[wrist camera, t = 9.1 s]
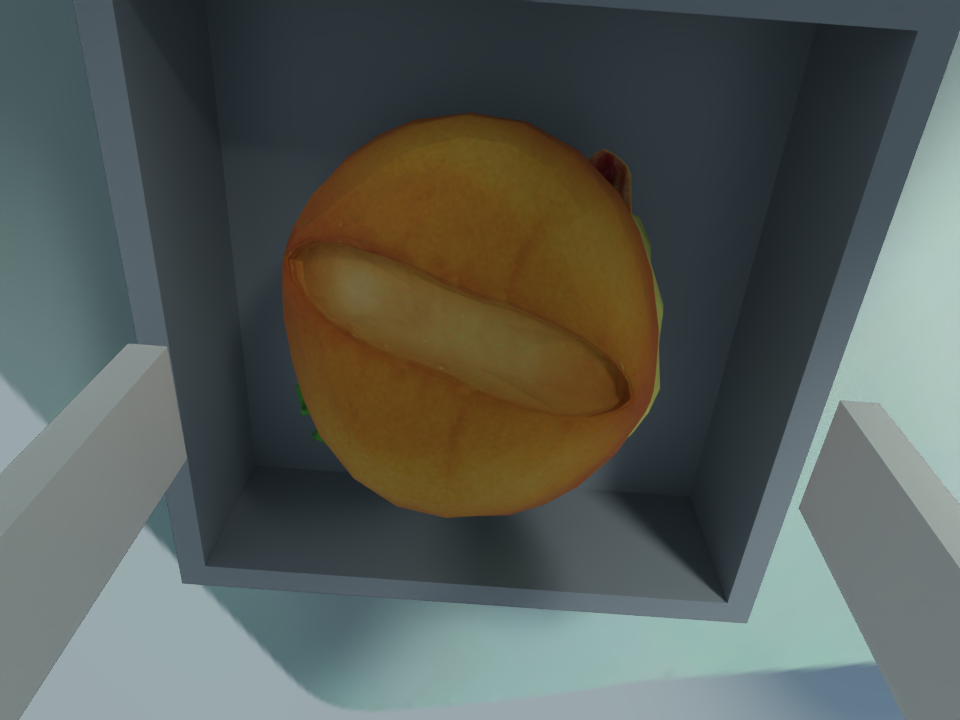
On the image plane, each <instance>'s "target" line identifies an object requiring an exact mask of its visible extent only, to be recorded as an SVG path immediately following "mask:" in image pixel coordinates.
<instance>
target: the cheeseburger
mask: <svg viewBox="0 0 960 720" xmlns="http://www.w3.org/2000/svg"><path fill="white" fill-rule="evenodd" d="M282 297H283V312H284V321H285V327H286V332H287V337H288V342H289V347H290V353H291V358H292V363H293V366H294V370H295V373H296V376H297V379H298V383H297V385H296V391H297V394H298V398H299V402H300V405H301V409H302V412H301V415H311V417H312V419H313V422H314V424H315V426H316V429H315V431H314V432H313V434H312V437H313V439H314V440H318V441H321V442H322V443H324V444H326V445H327V446H328V447H329V448H330V449H331V451H332V452H333V453H334V454H335V456H336V457H337V458H338V459H339V461H340V462H341V463H342V465H343V466H344V467H345V468H346V470H347V471H348V472H349V473H350V475H351V476H352V477H353V478H354V479H355V480H357V481H358V482H360V483H361V484H363V485H364V486H366V487H367V488H369V489H371V490H372V491H374V492H375V493H377V494H378V495H380V496H381V497H383V498H384V499H386V500H388V501H389V502H391V503H392V504H394V505H395V506H397V507H402V508H406V509H410V510H414V511H419V512H423V513H427V514H431V515H436V516H440V517H444V518H453V517H469V516H499V515H512V514H515V513H518V512H522V511H525V510H528V509H532V508H535V507H538V506H541V505H545V504H547V503H548V502H550V501H552V500H554V499H556V498H558V497H560V496H562V495H564V494H566V493H567V492H569V491H571V490H573V489H575V488H577V487H578V486H579V485H581V484H582V483H583V482H584V481H585V480H586V479H588V478H589V477H590V476H591V475H592V474H593V473H594V472H596V471H597V470H598V469H599V468H600V467H601V466H603V465H604V464H605V463H606V462H607V461H608V460H609V459H611V458H612V457H613V456H614V455H615V454H616V452H617V451H618V450H619V448H620V447H621V446H622V444H623V443H624V442H625V440H626V439H627V438H628V437H629V436H630V435H631V434H632V433H633V432H634V430H635V429H636V428H637V427H638V425H639V424H640V423H641V422H642V420H643V419H644V418H645V417H646V415H647V414H648V412H649V410H650V408H651V406H652V404H653V402H654V400H655V398H656V396H657V394H658V392H659V390H660V371H659V338H660V331H661V324H662V317H663V303H662V299H661V296H660V292H659V289H658V285H657V281H656V278H655V274H654V271H653V268H652V265H651V242H650V240H649V238H648V235H647V233H646V231H645V229H644V226H643V224H642V222H641V220H640V217H638V216H636V215H635V214H633V213H632V203H631V173H630V171H629V168H628V165H627V164H626V163H625V162H624V161H623V160H622V159H621V158H619V157H618V156H617V155H615V154H614V153H612V152H610V151H608V150H606V149H602V150H600V151H597V152H595V153H594V154H593V155H592V156H591V157H590V158H589V159H588V160H587V159H586V157H585V156H584V155H583V154H582V153H581V152H580V151H579V150H577V149H575V148H573V147H572V146H570V145H568V144H566V143H565V142H563V141H561V140H559V139H558V138H556V137H554V136H552V135H551V134H549V133H547V132H545V131H544V130H542V129H540V128H538V127H536V126H535V125H533V124H531V123H529V122H526V121H520V120H514V119H508V118H502V117H497V116H491V115H485V114H479V113H473V112H469V113H461V114H453V115H445V116H437V117H430V118H422V119H414V120H412V121H409V122H407V123H405V124H402V125H400V126H398V127H395V128H393V129H391V130H388V131H386V132H384V133H381V134H379V135H378V136H376V137H375V138H373V139H372V140H370V141H369V142H367V143H366V144H364V145H363V146H361V147H360V148H358V149H357V150H355V151H354V152H352V153H351V154H350V155H348V156H347V157H346V158H345V160H344V161H343V162H342V163H341V164H340V165H339V166H338V167H337V169H336V170H335V171H334V172H333V173H332V174H331V175H330V176H329V178H328V179H327V180H326V181H325V182H324V183H323V184H322V185H321V186H320V187H319V188H318V189H317V190H316V191H315V192H314V193H313V194H312V195H311V197H310V199H309V200H308V202H307V204H306V206H305V207H304V209H303V211H302V213H301V214H300V216H299V218H298V219H297V221H296V223H295V225H294V227H293V229H292V232H291V234H290V236H289V239H288V242H287V245H286V249H285V253H284V256H283V264H282Z"/></svg>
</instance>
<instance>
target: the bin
mask: <svg viewBox="0 0 960 720" xmlns="http://www.w3.org/2000/svg"><path fill="white" fill-rule="evenodd" d="M73 5H74V10H75V16H76V21H77V26H78V32H79V37H80V42H81V47H82V53H83V58H84V63H85V69H86V74H87V79H88V85H89V90H90V95H91V101H92V106H93V111H94V117H95V122H96V127H97V132H98V138H99V143H100V148H101V154H102V159H103V164H104V170H105V175H106V180H107V186H108V191H109V196H110V201H111V207H112V212H113V217H114V223H115V228H116V233H117V239H118V244H119V249H120V255H121V260H122V265H123V271H124V276H125V281H126V286H127V292H128V297H129V302H130V308H131V313H132V318H133V324H134V329H135V334H136V340H137V344H142V345H155V346H167V348H168V354H169V360H170V365H171V371H172V376H173V382H174V388H175V393H176V399H177V405H178V410H179V416H180V422H181V427H182V433H183V438H184V444H185V450H186V455H187V459H186V461H185V463H184V464H183V466H182V467H181V469H180V470H179V472H178V473H177V475H176V477H175V478H174V480H173V481H172V483H171V484H170V486H169V487H168V489H167V490H166V492H165V494H166V499H167V504H168V510H169V515H170V520H171V525H172V531H173V536H174V541H175V547H176V552H177V557H178V563H179V568H180V573H181V578H182V583H186V584H199V585H213V586H227V587H241V588H255V589H269V590H283V591H298V592H312V593H326V594H340V595H354V596H368V597H382V598H396V599H411V600H425V601H439V602H453V603H467V604H481V605H495V606H509V607H524V608H538V609H552V610H566V611H580V612H594V613H608V614H622V615H636V616H651V617H665V618H679V619H693V620H707V621H721V622H735V623H747V622H748V619H749V616H750V613H751V611H752V608H753V605H754V602H755V599H756V597H757V594H758V591H759V588H760V585H761V583H762V580H763V577H764V574H765V571H766V569H767V566H768V563H769V560H770V558H771V555H772V552H773V549H774V546H775V544H776V541H777V538H778V535H779V532H780V530H781V527H782V524H783V521H784V519H785V516H786V513H787V510H788V507H789V505H790V502H791V499H792V496H793V493H794V491H795V488H796V485H797V482H798V479H799V477H800V474H801V471H802V468H803V466H804V463H805V460H806V457H807V454H808V452H809V449H810V446H811V443H812V440H813V438H814V435H815V432H816V429H817V427H818V424H819V421H820V418H821V415H822V413H823V410H824V407H825V404H826V401H827V399H828V396H829V393H830V390H831V387H832V385H833V382H834V379H835V376H836V374H837V371H838V368H839V365H840V362H841V360H842V357H843V354H844V351H845V348H846V346H847V343H848V340H849V337H850V335H851V332H852V329H853V326H854V323H855V321H856V318H857V315H858V312H859V309H860V307H861V304H862V301H863V298H864V295H865V293H866V290H867V287H868V284H869V282H870V279H871V276H872V273H873V270H874V268H875V265H876V262H877V259H878V256H879V254H880V251H881V248H882V245H883V243H884V240H885V237H886V234H887V231H888V229H889V226H890V223H891V220H892V217H893V215H894V212H895V209H896V206H897V203H898V201H899V198H900V195H901V192H902V190H903V187H904V184H905V181H906V178H907V176H908V173H909V170H910V167H911V164H912V162H913V159H914V156H915V153H916V150H917V148H918V145H919V142H920V139H921V137H922V134H923V131H924V128H925V125H926V123H927V120H928V117H929V114H930V111H931V109H932V106H933V103H934V100H935V98H936V95H937V92H938V89H939V86H940V84H941V81H942V78H943V75H944V72H945V70H946V67H947V64H948V61H949V58H950V56H951V53H952V50H953V47H954V45H955V42H956V39H957V36H958V33H959V31H960V0H73ZM469 112H473V113H479V114H485V115H491V116H497V117H502V118H508V119H514V120H520V121H526V122H529V123H531V124H533V125H535V126H536V127H538V128H540V129H542V130H544V131H545V132H547V133H549V134H551V135H552V136H554V137H556V138H558V139H559V140H561V141H563V142H565V143H566V144H568V145H570V146H572V147H573V148H575V149H577V150H579V151H580V152H581V153H582V154H583V155H584V156H585V157H586V159H587V160H588V159H589V158H590V157H591V156H592V155H593V154H594V153H595V152H597V151H600V150H602V149H606V150H608V151H610V152H612V153H614V154H615V155H617V156H618V157H619V158H621V159H622V160H623V161H624V162H625V163H626V164H627V165H628V168H629V171H630V173H631V203H632V213H633V214H635V215H636V216H638V217H640V220H641V222H642V224H643V226H644V229H645V231H646V233H647V235H648V238H649V240H650V242H651V265H652V268H653V271H654V274H655V278H656V281H657V285H658V289H659V292H660V296H661V299H662V303H663V317H662V324H661V331H660V338H659V371H660V390H659V392H658V394H657V396H656V398H655V400H654V402H653V404H652V406H651V408H650V410H649V412H648V414H647V415H646V417H645V418H644V419H643V420H642V422H641V423H640V424H639V425H638V427H637V428H636V429H635V430H634V432H633V433H632V434H631V435H630V436H629V437H628V438H627V439H626V440H625V442H624V443H623V444H622V446H621V447H620V448H619V450H618V451H617V452H616V454H615V455H614V456H613V457H612V458H611V459H609V460H608V461H607V462H606V463H605V464H604V465H603V466H601V467H600V468H599V469H598V470H597V471H596V472H594V473H593V474H592V475H591V476H590V477H589V478H588V479H586V480H585V481H584V482H583V483H582V484H581V485H579V486H578V487H577V488H575V489H573V490H571V491H569V492H567V493H566V494H564V495H562V496H560V497H558V498H556V499H554V500H552V501H550V502H548V503H547V504H545V505H541V506H538V507H535V508H532V509H528V510H525V511H522V512H518V513H515V514H512V515H499V516H469V517H453V518H444V517H440V516H436V515H431V514H427V513H423V512H419V511H414V510H410V509H406V508H402V507H397V506H395V505H394V504H392V503H391V502H389V501H388V500H386V499H384V498H383V497H381V496H380V495H378V494H377V493H375V492H374V491H372V490H371V489H369V488H367V487H366V486H364V485H363V484H361V483H360V482H358V481H357V480H355V479H354V478H353V477H352V476H351V475H350V473H349V472H348V471H347V470H346V468H345V467H344V466H343V465H342V463H341V462H340V461H339V459H338V458H337V457H336V456H335V454H334V453H333V452H332V451H331V449H330V448H329V447H328V446H327V445H326V444H324V443H322V442H321V441H318V440H314V439H313V437H312V434H313V432H314V431H315V429H316V426H315V424H314V422H313V419H312V417H311V415H301V412H302V409H301V405H300V402H299V398H298V394H297V391H296V385H297V383H298V379H297V376H296V373H295V370H294V366H293V363H292V358H291V353H290V347H289V342H288V337H287V332H286V327H285V321H284V312H283V297H282V264H283V256H284V253H285V249H286V245H287V242H288V239H289V236H290V234H291V232H292V229H293V227H294V225H295V223H296V221H297V219H298V218H299V216H300V214H301V213H302V211H303V209H304V207H305V206H306V204H307V202H308V200H309V199H310V197H311V195H312V194H313V193H314V192H315V191H316V190H317V189H318V188H319V187H320V186H321V185H322V184H323V183H324V182H325V181H326V180H327V179H328V178H329V176H330V175H331V174H332V173H333V172H334V171H335V170H336V169H337V167H338V166H339V165H340V164H341V163H342V162H343V161H344V160H345V158H346V157H347V156H348V155H350V154H351V153H352V152H354V151H355V150H357V149H358V148H360V147H361V146H363V145H364V144H366V143H367V142H369V141H370V140H372V139H373V138H375V137H376V136H378V135H379V134H381V133H384V132H386V131H388V130H391V129H393V128H395V127H398V126H400V125H402V124H405V123H407V122H409V121H412V120H414V119H422V118H430V117H437V116H445V115H453V114H461V113H469Z"/></svg>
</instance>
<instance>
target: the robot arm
mask: <svg viewBox="0 0 960 720" xmlns="http://www.w3.org/2000/svg"><path fill="white" fill-rule="evenodd" d="M186 459H187V455H186V450H185V444H184V438H183V433H182V427H181V422H180V416H179V410H178V405H177V399H176V393H175V388H174V382H173V376H172V371H171V365H170V360H169V354H168V348H167V346H155V345H142V344H130V343H128V344H127V345H126V346H125V347H124V348H123V349H122V350H121V351H120V352H119V353H118V354H117V355H116V356H115V357H114V358H113V359H112V360H111V361H110V362H109V363H108V364H107V365H106V366H105V367H104V369H103V370H102V371H101V372H100V373H99V374H98V375H97V376H96V377H95V378H94V379H93V380H92V381H91V382H90V383H89V384H88V385H87V386H86V387H85V388H84V389H83V390H82V391H81V392H80V393H79V394H78V395H77V396H76V397H75V398H74V399H73V400H72V401H71V402H70V403H69V404H68V405H67V406H66V407H65V408H64V409H63V410H62V411H61V412H60V413H59V414H58V415H57V416H56V418H55V419H54V420H53V421H52V422H51V423H50V424H49V425H48V426H47V427H46V428H45V429H44V430H43V431H42V432H41V433H40V434H39V435H38V436H37V437H36V438H35V439H34V440H33V441H32V442H31V443H30V444H29V445H28V446H27V447H26V448H25V449H24V450H23V451H22V452H21V453H20V454H19V455H18V456H17V457H16V458H15V459H14V460H13V462H11V464H10V465H8V467H7V468H6V469H5V470H4V471H3V472H2V473H1V474H0V720H19V719H20V717H21V715H22V714H23V712H24V711H25V709H26V708H27V706H28V705H29V703H30V702H31V700H32V698H33V697H34V695H35V694H36V692H37V691H38V689H39V688H40V686H41V685H42V683H43V681H44V680H45V678H46V677H47V675H48V674H49V672H50V671H51V669H52V667H53V666H54V664H55V662H56V661H57V660H58V658H59V656H60V655H61V653H62V652H63V650H64V649H65V647H66V646H67V644H68V643H69V641H70V639H71V638H72V636H73V635H74V633H75V632H76V630H77V629H78V627H79V625H80V624H81V622H82V620H83V619H84V618H85V616H86V615H87V613H88V611H89V610H90V608H91V607H92V605H93V604H94V602H95V601H96V599H97V597H98V596H99V594H100V593H101V591H102V590H103V588H104V587H105V585H106V584H107V582H108V581H109V579H110V577H111V576H112V574H113V573H114V571H115V570H116V568H117V567H118V565H119V563H120V562H121V560H122V559H123V557H124V556H125V554H126V553H127V551H128V549H129V548H130V546H131V545H132V543H133V542H134V540H135V539H136V537H137V535H138V534H139V532H140V531H141V529H142V528H143V526H144V525H145V523H146V522H147V520H148V518H149V517H150V515H151V514H152V512H153V511H154V509H155V508H156V506H157V504H158V503H159V501H160V500H161V498H162V497H163V495H164V494H165V492H166V490H167V489H168V487H169V486H170V484H171V483H172V481H173V480H174V478H175V477H176V475H177V473H178V472H179V470H180V469H181V467H182V466H183V464H184V463H185V461H186ZM799 509H800V511H801V513H802V515H803V517H804V519H805V521H806V523H807V525H808V527H809V529H810V531H811V533H812V535H813V537H814V539H815V541H816V543H817V545H818V547H819V549H820V551H821V553H822V555H823V557H824V559H825V561H826V563H827V565H828V567H829V569H830V571H831V573H832V575H833V577H834V579H835V581H836V583H837V585H838V587H839V589H840V591H841V593H842V595H843V597H844V599H845V601H846V603H847V605H848V607H849V609H850V611H851V613H852V615H853V617H854V619H855V621H856V623H857V625H858V627H859V629H860V631H861V633H862V635H863V637H864V639H865V641H866V643H867V645H868V647H869V649H870V651H871V653H872V655H873V657H874V659H875V661H876V663H877V665H878V667H879V669H880V671H881V673H882V675H883V677H884V679H885V681H886V683H887V685H888V687H889V689H890V691H891V692H892V695H893V697H894V699H895V701H896V703H897V705H898V707H899V709H900V711H901V713H902V715H903V716H904V718H905V720H960V504H959V503H958V502H957V500H956V499H955V498H954V497H953V495H952V494H951V493H950V491H949V490H948V489H947V488H946V486H945V485H944V484H943V483H942V481H941V480H940V479H939V478H938V476H937V475H936V474H935V473H934V471H933V470H932V469H931V468H930V466H929V465H928V464H927V463H926V461H925V460H924V459H923V457H922V456H921V455H920V454H919V452H918V451H917V450H916V449H915V447H914V446H913V445H912V444H911V442H910V441H909V440H908V439H907V437H906V436H905V435H904V434H903V432H902V431H901V430H900V428H899V427H898V426H897V425H896V423H895V422H894V421H893V420H892V418H891V417H890V416H889V415H888V413H887V412H886V411H885V410H884V408H883V407H882V406H881V405H880V404H879V403H867V402H854V401H842V400H840V402H839V405H838V407H837V410H836V413H835V415H834V418H833V420H832V423H831V426H830V428H829V431H828V433H827V436H826V439H825V441H824V444H823V446H822V449H821V452H820V454H819V457H818V459H817V462H816V465H815V467H814V470H813V472H812V475H811V478H810V480H809V483H808V485H807V488H806V491H805V493H804V496H803V498H802V501H801V504H800V506H799Z"/></svg>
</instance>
